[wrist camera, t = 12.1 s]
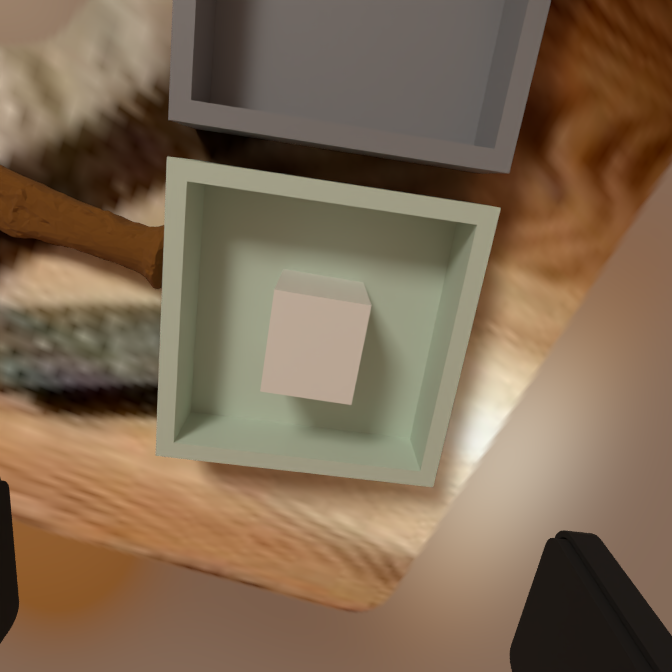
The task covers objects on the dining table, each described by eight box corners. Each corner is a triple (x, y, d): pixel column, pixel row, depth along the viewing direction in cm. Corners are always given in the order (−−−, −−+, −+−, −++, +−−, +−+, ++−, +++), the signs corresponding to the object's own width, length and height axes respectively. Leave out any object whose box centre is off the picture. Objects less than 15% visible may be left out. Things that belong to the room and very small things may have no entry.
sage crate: (193, 159, 26) (166, 156, 21) (472, 202, 27) (500, 207, 22) (179, 415, 30) (155, 455, 26) (418, 444, 31) (433, 487, 27)
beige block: (283, 268, 27) (274, 289, 22) (363, 282, 27) (371, 305, 22) (271, 354, 28) (260, 391, 23) (347, 366, 28) (351, 405, 24)
